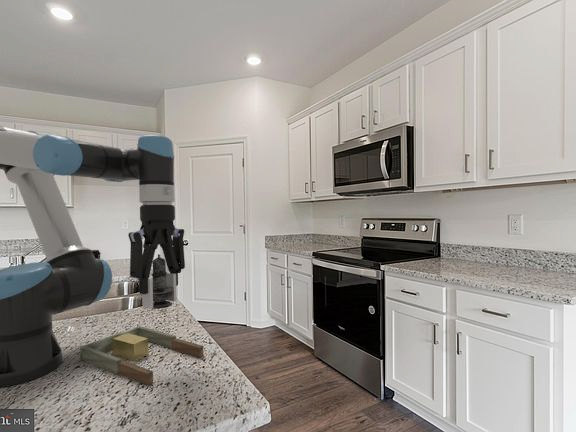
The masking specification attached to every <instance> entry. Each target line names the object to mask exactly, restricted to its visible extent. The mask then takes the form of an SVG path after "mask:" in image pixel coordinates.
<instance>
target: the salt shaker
mask: <svg viewBox="0 0 576 432" xmlns="http://www.w3.org/2000/svg"><path fill="white" fill-rule="evenodd" d="M166 267H167V263H166V260H165V258H164V257H163V258H162V257H161V254H157V257H156V258H155V259H154V258H153V262H152V273H150V275H151V276H152V279H153V308H152V309H153V310H159V309H166V308H170V307H171V306H173V302H172V301H169V300H168V299H169V298H170V297H171V294H172V291H173V288H171V287H168V285H167V282H166V275H167V274H168V273H169V272H167V271H166V270H167V268H166Z"/></svg>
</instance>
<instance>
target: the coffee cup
mask: <svg viewBox="0 0 576 432" xmlns="http://www.w3.org/2000/svg"><path fill="white" fill-rule="evenodd" d="M91 250H92V252H93V254H94V257H95V259H101V253H102V252H101V251H100V250H99V249H91Z"/></svg>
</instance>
